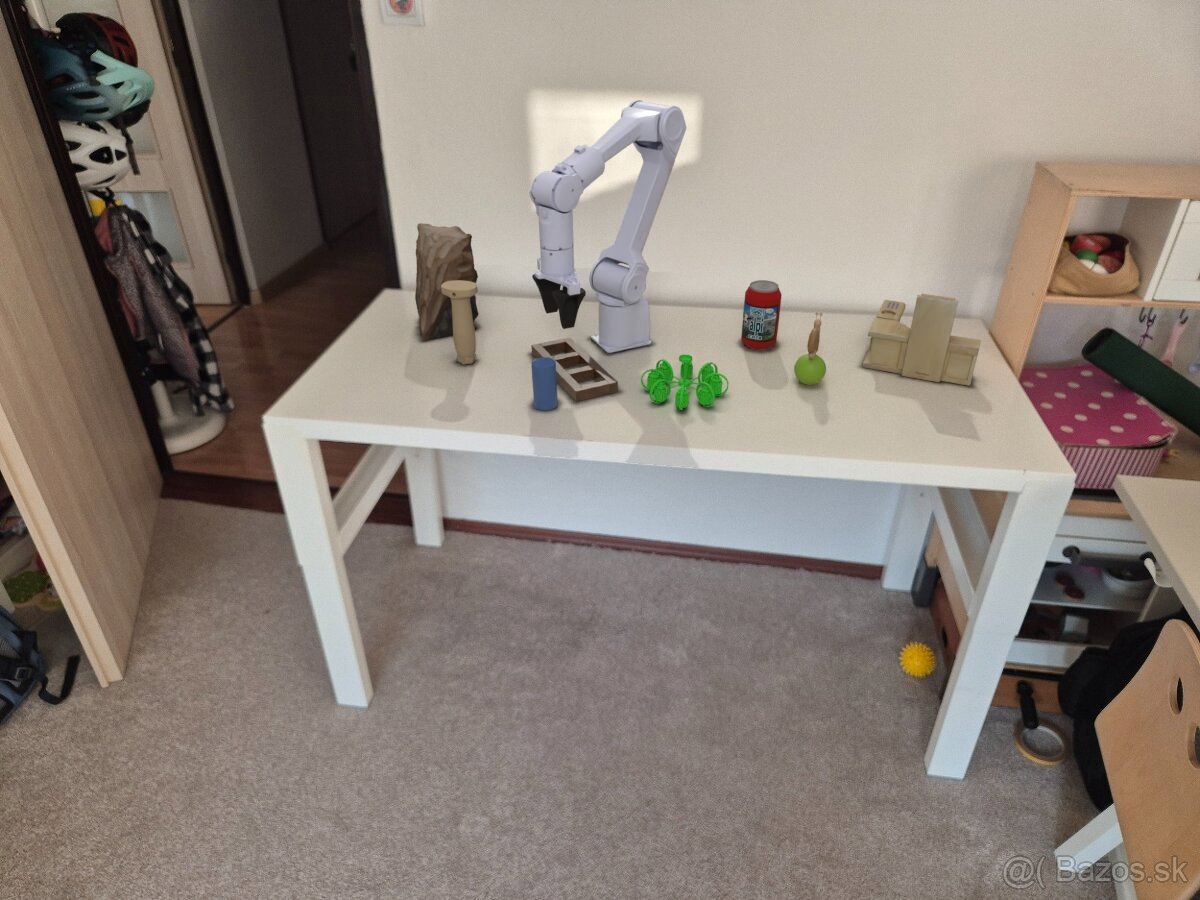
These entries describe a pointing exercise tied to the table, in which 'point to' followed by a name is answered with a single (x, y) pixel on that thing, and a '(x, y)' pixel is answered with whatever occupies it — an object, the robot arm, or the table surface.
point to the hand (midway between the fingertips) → (559, 319)
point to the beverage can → (761, 314)
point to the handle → (462, 318)
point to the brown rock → (441, 276)
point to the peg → (544, 383)
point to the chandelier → (684, 382)
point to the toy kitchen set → (922, 342)
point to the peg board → (571, 377)
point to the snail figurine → (811, 359)
